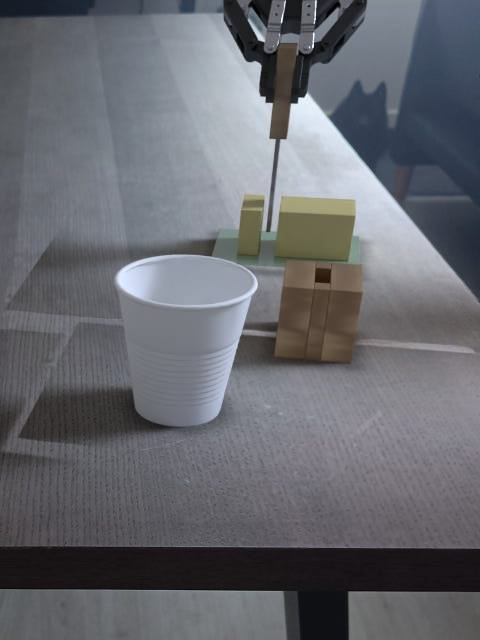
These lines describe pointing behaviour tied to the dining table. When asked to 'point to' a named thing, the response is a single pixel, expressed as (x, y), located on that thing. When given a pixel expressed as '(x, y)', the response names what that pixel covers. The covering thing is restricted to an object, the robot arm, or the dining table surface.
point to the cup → (182, 333)
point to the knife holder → (319, 311)
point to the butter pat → (251, 224)
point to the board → (266, 250)
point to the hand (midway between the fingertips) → (282, 98)
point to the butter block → (315, 228)
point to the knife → (281, 110)
